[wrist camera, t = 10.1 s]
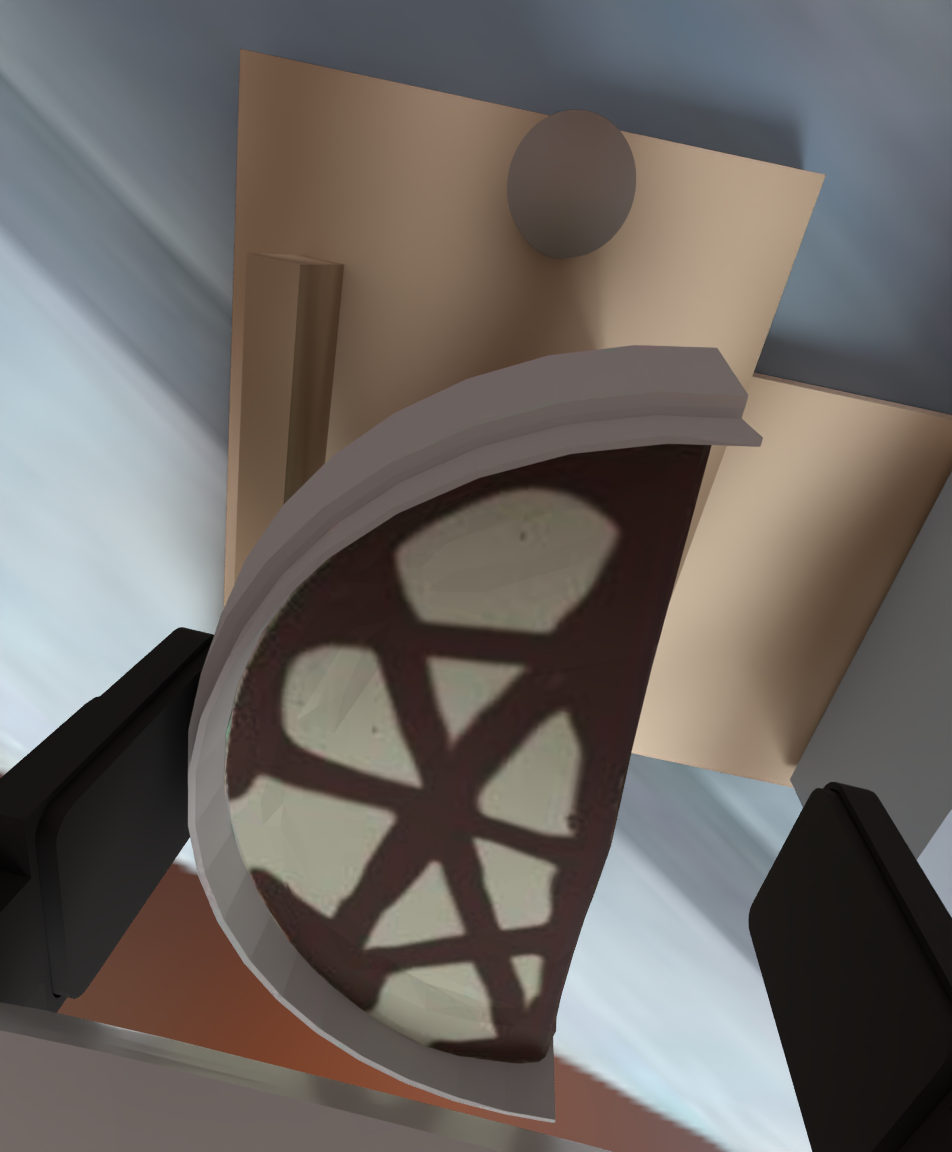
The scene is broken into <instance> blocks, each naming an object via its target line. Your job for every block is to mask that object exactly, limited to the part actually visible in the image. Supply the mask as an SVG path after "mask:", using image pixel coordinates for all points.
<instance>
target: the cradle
mask: <svg viewBox="0 0 952 1152" xmlns="http://www.w3.org/2000/svg"><path fill="white" fill-rule="evenodd" d="M825 176H826V175H824V174H819V173H815V172H810V171H805V170H801V169H796V168H792V167H787V166H782V165H778V164H773V163H768V162H764V161H759V160H754V159H750V158H745V157H740V156H736V155H731V154H727V153H722V152H717V151H713V150H708V149H703V148H699V147H694V146H689V145H685V144H680V143H675V142H671V141H666V140H662V139H657V138H652V137H648V136H643V135H638V134H634V133H629V132H624V131H620V130H619V129H618V128H617V127H616V126H615V125H614V124H613V123H612V122H611V121H609V120H608V119H606V118H605V117H603V116H601V115H599V114H597V113H594V112H590V111H586V110H566V111H561V112H558V113H555V114H553V115H551V116H550V115H546V114H541V113H536V112H532V111H527V110H522V109H518V108H513V107H508V106H504V105H499V104H494V103H490V102H485V101H481V100H476V99H471V98H467V97H462V96H457V95H453V94H448V93H443V92H439V91H434V90H430V89H425V88H420V87H416V86H411V85H406V84H402V83H397V82H392V81H388V80H383V79H378V78H374V77H369V76H365V75H360V74H355V73H351V72H346V71H341V70H337V69H332V68H327V67H323V66H318V65H313V64H309V63H304V62H300V61H295V60H290V59H286V58H281V57H276V56H272V55H267V54H262V53H258V52H253V51H249V50H244V49H240V76H239V110H238V143H237V177H236V211H235V244H234V278H233V311H232V345H231V379H230V412H229V446H228V479H227V513H226V547H225V580H224V607H225V605H226V603H227V600H228V598H229V596H230V594H231V591H232V589H233V587H234V585H235V582H236V580H237V578H238V575H239V573H240V571H241V569H242V566H243V564H244V562H245V559H246V558H247V556H248V555H249V553H250V552H251V551H252V549H253V548H254V546H255V545H256V543H257V542H258V540H259V539H260V538H261V536H262V535H263V533H264V532H265V530H266V529H267V527H268V526H269V525H270V523H271V522H272V520H273V519H274V517H275V516H276V514H277V513H278V512H279V510H280V509H281V507H282V506H283V505H284V504H285V503H286V502H287V501H288V500H289V499H290V498H291V497H292V496H293V495H294V494H295V493H296V492H297V491H298V490H299V489H300V488H301V487H302V486H303V485H304V484H305V483H306V482H307V481H308V480H309V479H310V478H311V477H312V476H313V475H314V474H315V473H316V472H317V471H318V470H319V469H320V468H321V467H322V466H323V465H324V464H325V463H326V462H327V461H328V460H329V459H330V458H331V457H332V456H333V455H335V454H336V453H338V452H339V451H341V450H342V449H344V448H345V447H346V446H348V445H349V444H351V443H352V442H354V441H355V440H356V439H358V438H359V437H361V436H362V435H364V434H365V433H366V432H368V431H369V430H371V429H372V428H374V427H375V426H377V425H378V424H379V423H381V422H382V421H384V420H385V419H387V418H388V417H389V416H391V415H392V414H394V413H396V412H398V411H400V410H402V409H404V408H406V407H408V406H411V405H413V404H415V403H417V402H419V401H421V400H423V399H425V398H427V397H430V396H432V395H434V394H436V393H438V392H440V391H442V390H444V389H447V388H449V387H451V386H453V385H455V384H457V383H459V382H461V381H464V380H466V379H468V378H472V377H475V376H479V375H482V374H486V373H489V372H493V371H496V370H500V369H503V368H507V367H510V366H513V365H517V364H520V363H524V362H527V361H531V360H534V359H538V358H541V357H545V356H548V355H556V354H565V353H573V352H581V351H589V350H598V349H606V348H614V347H622V346H631V345H650V346H681V347H712V348H718V350H719V351H720V353H721V354H722V356H723V357H724V359H725V360H726V362H727V363H728V365H729V366H730V368H731V369H732V371H733V372H734V374H735V375H736V377H737V378H738V380H739V382H740V383H741V385H742V386H743V388H744V389H745V391H746V392H747V394H748V395H749V396H748V399H747V403H746V407H745V410H744V413H743V415H742V419H743V420H744V421H745V422H746V423H747V424H748V425H749V426H751V427H752V428H753V429H754V430H755V431H756V432H757V433H758V434H760V435H761V436H762V437H763V440H762V443H761V447H749V446H721V445H712V446H711V450H710V454H709V457H708V461H707V465H706V468H705V472H704V476H703V480H702V483H701V487H700V491H699V495H698V498H697V502H696V506H695V510H694V513H693V517H692V521H691V525H690V528H689V532H688V536H687V540H686V543H685V547H684V551H683V554H682V558H681V562H680V566H679V569H678V573H677V577H676V580H675V584H674V588H673V591H672V595H671V599H670V602H669V606H668V610H667V614H666V617H665V621H664V625H663V628H662V632H661V636H660V639H659V643H658V647H657V651H656V654H655V658H654V662H653V665H652V669H651V674H650V678H649V682H648V686H647V690H646V694H645V698H644V703H643V707H642V711H641V715H640V719H639V723H638V727H637V731H636V736H635V740H634V744H633V748H632V752H631V753H634V754H638V755H643V756H648V757H652V758H657V759H662V760H666V761H671V762H676V763H680V764H685V765H690V766H694V767H699V768H704V769H708V770H713V771H718V772H722V773H727V774H732V775H736V776H741V777H746V778H750V779H755V780H760V781H764V782H769V783H774V784H778V785H783V786H788V787H792V788H794V787H793V785H792V783H791V781H790V778H791V776H792V774H793V772H794V770H795V769H796V767H797V765H798V763H799V761H800V759H801V757H802V755H803V753H804V751H805V749H806V748H807V746H808V744H809V742H810V740H811V738H812V736H813V734H814V732H815V730H816V729H817V727H818V725H819V723H820V721H821V719H822V717H823V715H824V713H825V711H826V710H827V708H828V706H829V704H830V702H831V700H832V698H833V696H834V694H835V692H836V690H837V689H838V687H839V685H840V683H841V681H842V679H843V677H844V675H845V673H846V671H847V670H848V668H849V666H850V664H851V662H852V660H853V658H854V656H855V654H856V652H857V651H858V649H859V647H860V645H861V643H862V641H863V639H864V637H865V635H866V633H867V631H868V630H869V628H870V626H871V624H872V622H873V620H874V618H875V616H876V614H877V612H878V611H879V609H880V607H881V605H882V603H883V601H884V599H885V597H886V595H887V593H888V592H889V590H890V588H891V586H892V584H893V582H894V580H895V578H896V576H897V574H898V572H899V571H900V569H901V567H902V565H903V563H904V561H905V559H906V557H907V555H908V553H909V552H910V550H911V548H912V546H913V544H914V542H915V540H916V538H917V536H918V534H919V533H920V531H921V529H922V527H923V525H924V523H925V521H926V519H927V517H928V515H929V513H930V512H931V510H932V508H933V506H934V504H935V502H936V500H937V498H938V496H939V494H940V493H941V491H942V489H943V487H944V485H945V483H946V481H947V479H948V477H949V475H950V474H951V472H952V415H950V414H945V413H941V412H936V411H931V410H927V409H922V408H917V407H913V406H908V405H903V404H899V403H894V402H889V401H885V400H880V399H875V398H871V397H866V396H861V395H857V394H852V393H848V392H843V391H838V390H834V389H829V388H824V387H820V386H815V385H810V384H806V383H801V382H796V381H792V380H787V379H782V378H778V377H773V376H768V375H764V374H759V373H754V370H755V367H756V365H757V362H758V359H759V356H760V354H761V351H762V348H763V346H764V343H765V340H766V337H767V335H768V332H769V329H770V326H771V324H772V321H773V318H774V315H775V313H776V310H777V307H778V304H779V302H780V299H781V296H782V293H783V291H784V288H785V285H786V283H787V280H788V277H789V274H790V272H791V269H792V266H793V263H794V261H795V258H796V255H797V252H798V250H799V247H800V244H801V241H802V239H803V236H804V233H805V230H806V228H807V225H808V222H809V220H810V217H811V214H812V211H813V209H814V206H815V203H816V200H817V198H818V195H819V192H820V189H821V187H822V184H823V181H824V178H825Z"/></svg>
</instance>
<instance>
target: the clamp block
mask: <svg viewBox="0 0 952 1152" xmlns="http://www.w3.org/2000/svg"><path fill="white" fill-rule="evenodd" d="M790 781H791V783H792V785H793V787H794V789H795V791H796V793H797V795H798V797H799V799H800V802H801V804H802V806H803V807H804V805H805V804H806V802H807V800H808V798H809V796H810V794H811V793H812V791H813V790H815V789H816V788H822V789H823V788H824V786H825V785H826V784H828V783H829V782H838V783H842V784H847V785H851V786H855V787H859V788H863V789H868V790H870V791H872V792H874V793H875V794H876V795H877V796H878V798H879V799H880V801H881V803H882V804H883V806H884V807H885V809H886V811H887V812H888V814H889V816H890V817H891V819H892V821H893V822H894V824H895V825H896V827H897V829H898V830H899V832H900V834H901V835H902V837H903V839H904V840H905V842H906V844H907V845H908V847H909V848H910V850H911V852H912V853H913V855H914V857H915V858H916V860H917V862H918V863H919V865H920V866H921V868H922V870H923V871H924V873H925V875H926V876H927V878H928V880H929V881H930V883H931V884H932V886H933V888H934V889H935V891H936V893H937V894H938V896H939V898H940V899H941V901H942V903H943V904H944V906H945V907H946V909H947V911H948V912H949V914H950V916H951V917H952V472H951V474H950V475H949V477H948V479H947V481H946V483H945V485H944V487H943V489H942V491H941V493H940V494H939V496H938V498H937V500H936V502H935V504H934V506H933V508H932V510H931V512H930V513H929V515H928V517H927V519H926V521H925V523H924V525H923V527H922V529H921V531H920V533H919V534H918V536H917V538H916V540H915V542H914V544H913V546H912V548H911V550H910V552H909V553H908V555H907V557H906V559H905V561H904V563H903V565H902V567H901V569H900V571H899V572H898V574H897V576H896V578H895V580H894V582H893V584H892V586H891V588H890V590H889V592H888V593H887V595H886V597H885V599H884V601H883V603H882V605H881V607H880V609H879V611H878V612H877V614H876V616H875V618H874V620H873V622H872V624H871V626H870V628H869V630H868V631H867V633H866V635H865V637H864V639H863V641H862V643H861V645H860V647H859V649H858V651H857V652H856V654H855V656H854V658H853V660H852V662H851V664H850V666H849V668H848V670H847V671H846V673H845V675H844V677H843V679H842V681H841V683H840V685H839V687H838V689H837V690H836V692H835V694H834V696H833V698H832V700H831V702H830V704H829V706H828V708H827V710H826V711H825V713H824V715H823V717H822V719H821V721H820V723H819V725H818V727H817V729H816V730H815V732H814V734H813V736H812V738H811V740H810V742H809V744H808V746H807V748H806V749H805V751H804V753H803V755H802V757H801V759H800V761H799V763H798V765H797V767H796V769H795V770H794V772H793V774H792V776H791V778H790Z"/></svg>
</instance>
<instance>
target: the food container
mask: <svg viewBox="0 0 952 1152" xmlns="http://www.w3.org/2000/svg"><path fill="white" fill-rule="evenodd" d="M748 396H749V395H748V394H747V392H746V391H745V389H744V388H743V386H742V385H741V383H740V382H739V380H738V378H737V377H736V375H735V374H734V372H733V371H732V369H731V368H730V366H729V365H728V363H727V362H726V360H725V359H724V357H723V356H722V354H721V353H720V351H719V350H718V348H712V347H681V346H650V345H631V346H622V347H614V348H606V349H598V350H589V351H581V352H573V353H565V354H556V355H548V356H545V357H541V358H538V359H534V360H531V361H527V362H524V363H520V364H517V365H513V366H510V367H507V368H503V369H500V370H496V371H493V372H489V373H486V374H482V375H479V376H475V377H472V378H468V379H466V380H464V381H461V382H459V383H457V384H455V385H453V386H451V387H449V388H447V389H444V390H442V391H440V392H438V393H436V394H434V395H432V396H430V397H427V398H425V399H423V400H421V401H419V402H417V403H415V404H413V405H411V406H408V407H406V408H404V409H402V410H400V411H398V412H396V413H394V414H392V415H391V416H389V417H388V418H387V419H385V420H384V421H382V422H381V423H379V424H378V425H377V426H375V427H374V428H372V429H371V430H369V431H368V432H366V433H365V434H364V435H362V436H361V437H359V438H358V439H356V440H355V441H354V442H352V443H351V444H349V445H348V446H346V447H345V448H344V449H342V450H341V451H339V452H338V453H336V454H335V455H333V456H332V457H331V458H330V459H329V460H328V461H327V462H326V463H325V464H324V465H323V466H322V467H321V468H320V469H319V470H318V471H317V472H316V473H315V474H314V475H313V476H312V477H311V478H310V479H309V480H308V481H307V482H306V483H305V484H304V485H303V486H302V487H301V488H300V489H299V490H298V491H297V492H296V493H295V494H294V495H293V496H292V497H291V498H290V499H289V500H288V501H287V502H286V503H285V504H284V505H283V506H282V507H281V509H280V510H279V512H278V513H277V514H276V516H275V517H274V519H273V520H272V522H271V523H270V525H269V526H268V527H267V529H266V530H265V532H264V533H263V535H262V536H261V538H260V539H259V540H258V542H257V543H256V545H255V546H254V548H253V549H252V551H251V552H250V553H249V555H248V556H247V558H246V559H245V562H244V564H243V566H242V569H241V571H240V573H239V575H238V578H237V580H236V582H235V585H234V587H233V589H232V591H231V594H230V596H229V598H228V600H227V603H226V605H225V607H224V610H223V612H222V614H221V617H220V620H219V623H218V626H217V629H216V632H215V635H214V637H213V640H212V643H211V646H210V649H209V652H208V655H207V658H206V660H205V663H204V666H203V669H202V672H201V675H200V680H199V684H198V689H197V693H196V698H195V703H194V707H193V712H192V716H191V721H190V725H189V730H188V828H189V833H190V838H191V843H192V848H193V853H194V858H195V862H196V867H197V872H198V876H199V878H200V881H201V883H202V886H203V888H204V891H205V893H206V895H207V898H208V900H209V903H210V905H211V907H212V910H213V912H214V915H215V917H216V919H217V922H218V923H219V925H220V926H221V928H222V929H223V931H224V932H225V934H226V936H227V937H228V939H229V940H230V942H231V943H232V945H233V946H234V948H235V950H236V951H237V953H238V954H239V956H240V957H241V959H242V960H243V962H244V963H245V965H247V967H248V968H249V969H250V970H251V971H252V972H253V973H254V974H255V976H256V977H257V978H258V979H259V980H260V981H261V982H262V983H263V985H264V986H265V987H266V988H267V989H268V990H269V991H270V992H271V993H272V995H274V997H275V998H276V999H277V1000H278V1001H279V1002H280V1003H281V1004H283V1005H284V1006H285V1007H286V1008H287V1009H289V1010H290V1011H291V1012H292V1013H293V1014H295V1015H296V1016H297V1017H298V1018H300V1019H301V1020H302V1021H303V1022H304V1023H305V1024H307V1025H308V1026H309V1027H310V1028H311V1029H313V1030H314V1031H315V1032H316V1033H318V1034H319V1035H321V1036H322V1037H324V1038H325V1039H327V1040H328V1041H330V1042H332V1043H333V1044H335V1045H336V1046H338V1047H339V1048H341V1049H342V1050H344V1051H345V1052H347V1053H349V1054H350V1055H352V1056H353V1057H355V1058H356V1059H358V1060H360V1061H362V1062H364V1063H366V1064H368V1065H370V1066H372V1067H374V1068H376V1069H378V1070H380V1071H382V1072H384V1073H386V1074H388V1075H390V1076H392V1077H394V1078H396V1079H398V1080H400V1081H402V1082H404V1083H406V1084H409V1085H412V1086H415V1087H417V1088H420V1089H423V1090H425V1091H428V1092H431V1093H433V1094H436V1095H439V1096H442V1097H444V1098H447V1099H449V1100H452V1101H456V1102H459V1103H463V1104H467V1105H471V1106H475V1107H479V1108H483V1109H487V1110H491V1111H495V1112H498V1113H502V1114H506V1115H512V1116H518V1117H524V1118H529V1119H536V1120H541V1121H547V1122H552V1123H555V1092H554V1091H555V1090H554V1055H553V1036H554V1034H555V1032H556V1017H557V1012H558V1008H559V1003H560V999H561V995H562V991H563V988H564V984H565V981H566V977H567V974H568V971H569V967H570V964H571V960H572V957H573V953H574V950H575V947H576V944H577V941H578V938H579V935H580V931H581V928H582V925H583V922H584V919H585V916H586V914H587V911H588V908H589V906H590V903H591V901H592V898H593V895H594V893H595V890H596V887H597V884H598V881H599V878H600V876H601V873H602V870H603V867H604V864H605V861H606V859H607V856H608V853H609V850H610V847H611V843H612V839H613V834H614V830H615V825H616V820H617V816H618V811H619V807H620V802H621V798H622V793H623V789H624V784H625V779H626V775H627V770H628V765H629V761H630V756H631V752H632V748H633V744H634V740H635V736H636V731H637V727H638V723H639V719H640V715H641V711H642V707H643V703H644V698H645V694H646V690H647V686H648V682H649V678H650V674H651V669H652V665H653V662H654V658H655V654H656V651H657V647H658V643H659V639H660V636H661V632H662V628H663V625H664V621H665V617H666V614H667V610H668V606H669V602H670V599H671V595H672V591H673V588H674V584H675V580H676V577H677V573H678V569H679V566H680V562H681V558H682V554H683V551H684V547H685V543H686V540H687V536H688V532H689V528H690V525H691V521H692V517H693V513H694V510H695V506H696V502H697V498H698V495H699V491H700V487H701V483H702V480H703V476H704V472H705V468H706V465H707V461H708V457H709V454H710V450H711V446H712V445H721V446H749V447H761V443H762V440H763V437H762V436H761V435H760V434H758V433H757V432H756V431H755V430H754V429H753V428H752V427H751V426H749V425H748V424H747V423H746V422H745V421H744V420H743V419H742V415H743V413H744V410H745V407H746V403H747V399H748Z"/></svg>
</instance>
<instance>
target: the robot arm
mask: <svg viewBox="0 0 952 1152" xmlns="http://www.w3.org/2000/svg"><path fill="white" fill-rule="evenodd" d="M213 637H214V635H213V634H209V633H204V632H200V631H196V630H192V629H188V628H183V627H181V628H177V629H176V630H174V631H173V632H172V633H171V634H170V635H169V636H168V637H166V638H165V639H164V640H163V641H162V642H161V643H160V644H159V645H157V646H156V647H155V648H154V649H153V650H152V651H151V652H150V653H148V654H147V655H146V656H145V657H144V658H143V659H142V660H141V661H139V662H138V663H137V664H136V665H135V666H134V667H133V668H131V669H130V670H129V671H128V672H127V673H126V674H125V675H124V676H122V677H121V678H120V679H119V680H118V681H117V682H116V683H115V684H113V685H112V686H111V687H110V688H109V689H108V690H107V691H106V692H104V693H103V694H102V695H101V696H99V697H95V698H93V699H92V700H90V701H89V702H87V703H86V704H85V705H84V706H83V707H81V708H80V709H79V710H78V711H77V712H76V713H75V714H73V715H72V716H71V717H70V718H69V719H68V720H67V721H65V722H64V723H63V724H62V725H61V726H60V727H59V728H57V729H56V730H55V731H54V732H53V733H52V734H51V735H49V736H48V737H47V738H46V739H45V740H44V741H43V742H41V743H40V744H39V745H38V746H37V747H36V748H35V749H33V750H32V751H31V752H30V753H29V754H28V755H27V756H25V757H24V758H23V759H22V760H21V761H20V762H19V763H17V764H16V765H15V766H14V767H13V768H12V769H11V770H9V771H8V772H7V773H6V774H5V775H4V776H3V777H1V778H0V1152H612V1151H608V1150H604V1149H601V1148H597V1147H593V1146H589V1145H585V1144H581V1143H577V1142H574V1141H570V1140H566V1139H562V1138H558V1137H554V1136H550V1135H546V1134H543V1133H539V1132H535V1131H531V1130H527V1129H523V1128H519V1127H515V1126H511V1125H508V1124H504V1123H500V1122H496V1121H492V1120H488V1119H484V1118H480V1117H477V1116H473V1115H468V1114H465V1113H461V1112H457V1111H453V1110H449V1109H445V1108H441V1107H437V1106H433V1105H430V1104H426V1103H422V1102H418V1101H414V1100H410V1099H406V1098H403V1097H399V1096H394V1095H391V1094H387V1093H383V1092H379V1091H375V1090H371V1089H367V1088H363V1087H359V1086H355V1085H351V1084H347V1083H343V1082H339V1081H335V1080H331V1079H328V1078H324V1077H319V1076H316V1075H312V1074H308V1073H303V1072H299V1071H295V1070H292V1069H288V1068H284V1067H280V1066H276V1065H271V1064H268V1063H263V1062H259V1061H256V1060H252V1059H248V1058H244V1057H240V1056H236V1055H232V1054H228V1053H224V1052H220V1051H216V1050H212V1049H208V1048H204V1047H200V1046H196V1045H192V1044H188V1043H184V1042H180V1041H176V1040H172V1039H168V1038H164V1037H159V1036H155V1035H151V1034H146V1033H142V1032H138V1031H133V1030H129V1029H125V1028H120V1027H116V1026H112V1025H107V1024H103V1023H98V1022H94V1021H90V1020H85V1019H81V1018H77V1017H72V1016H68V1015H64V1014H59V1013H57V1011H58V1010H59V1009H60V1007H61V1006H62V1004H63V1003H64V1001H65V1000H66V998H67V997H69V998H73V999H76V998H78V997H79V996H80V995H82V994H83V992H85V990H86V989H87V988H88V986H89V985H90V983H91V982H92V980H93V979H94V977H95V976H96V975H97V973H98V972H99V970H100V969H101V967H102V966H103V964H104V963H105V961H106V960H107V958H108V957H109V955H110V954H111V952H112V951H113V949H114V948H115V947H116V945H117V944H118V942H119V941H120V939H121V938H122V936H123V935H124V933H125V932H126V930H127V929H128V927H129V926H130V924H131V923H132V922H133V920H134V919H135V917H136V916H137V914H138V913H139V911H140V910H141V908H142V907H143V905H144V904H145V902H146V901H147V899H148V898H149V896H150V895H151V893H152V892H153V891H154V889H155V887H156V886H157V885H158V883H159V882H160V880H161V879H162V877H163V876H164V874H165V873H166V871H167V870H168V868H169V867H170V866H171V864H172V863H173V861H174V860H175V858H176V857H177V855H178V854H179V852H180V851H181V849H182V848H183V846H184V845H185V843H186V842H187V841H188V839H189V838H190V833H189V828H188V730H189V725H190V721H191V716H192V712H193V707H194V703H195V698H196V693H197V689H198V684H199V680H200V675H201V672H202V669H203V666H204V663H205V660H206V658H207V655H208V652H209V649H210V646H211V643H212V640H213ZM749 930H750V935H751V938H752V942H753V945H754V949H755V952H756V956H757V959H758V963H759V966H760V970H761V973H762V977H763V980H764V984H765V987H766V991H767V994H768V998H769V1001H770V1005H771V1008H772V1012H773V1015H774V1019H775V1022H776V1026H777V1029H778V1033H779V1036H780V1040H781V1043H782V1047H783V1050H784V1054H785V1057H786V1061H787V1064H788V1068H789V1071H790V1075H791V1078H792V1082H793V1085H794V1089H795V1092H796V1096H797V1100H798V1103H799V1107H800V1110H801V1114H802V1117H803V1121H804V1124H805V1128H806V1131H807V1135H808V1138H809V1142H810V1145H811V1149H812V1152H952V917H951V916H950V914H949V912H948V911H947V909H946V907H945V906H944V904H943V903H942V901H941V899H940V898H939V896H938V894H937V893H936V891H935V889H934V888H933V886H932V884H931V883H930V881H929V880H928V878H927V876H926V875H925V873H924V871H923V870H922V868H921V866H920V865H919V863H918V862H917V860H916V858H915V857H914V855H913V853H912V852H911V850H910V848H909V847H908V845H907V844H906V842H905V840H904V839H903V837H902V835H901V834H900V832H899V830H898V829H897V827H896V825H895V824H894V822H893V821H892V819H891V817H890V816H889V814H888V812H887V811H886V809H885V807H884V806H883V804H882V803H881V801H880V799H879V798H878V796H877V795H876V794H875V793H874V792H872V791H870V790H868V789H863V788H859V787H855V786H851V785H847V784H842V783H838V782H829V783H828V784H826V785H825V786H824V788H823V789H822V788H816V789H815V790H813V791H812V793H811V794H810V796H809V798H808V800H807V802H806V804H805V805H804V807H803V809H802V811H801V813H800V815H799V817H798V819H797V820H796V822H795V824H794V826H793V828H792V830H791V832H790V834H789V836H788V837H787V839H786V841H785V843H784V845H783V847H782V849H781V851H780V852H779V854H778V856H777V858H776V860H775V862H774V864H773V866H772V868H771V869H770V871H769V873H768V875H767V877H766V879H765V881H764V883H763V884H762V886H761V888H760V890H759V892H758V894H757V896H756V898H755V900H754V901H753V903H752V906H751V908H750V912H749Z"/></svg>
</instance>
